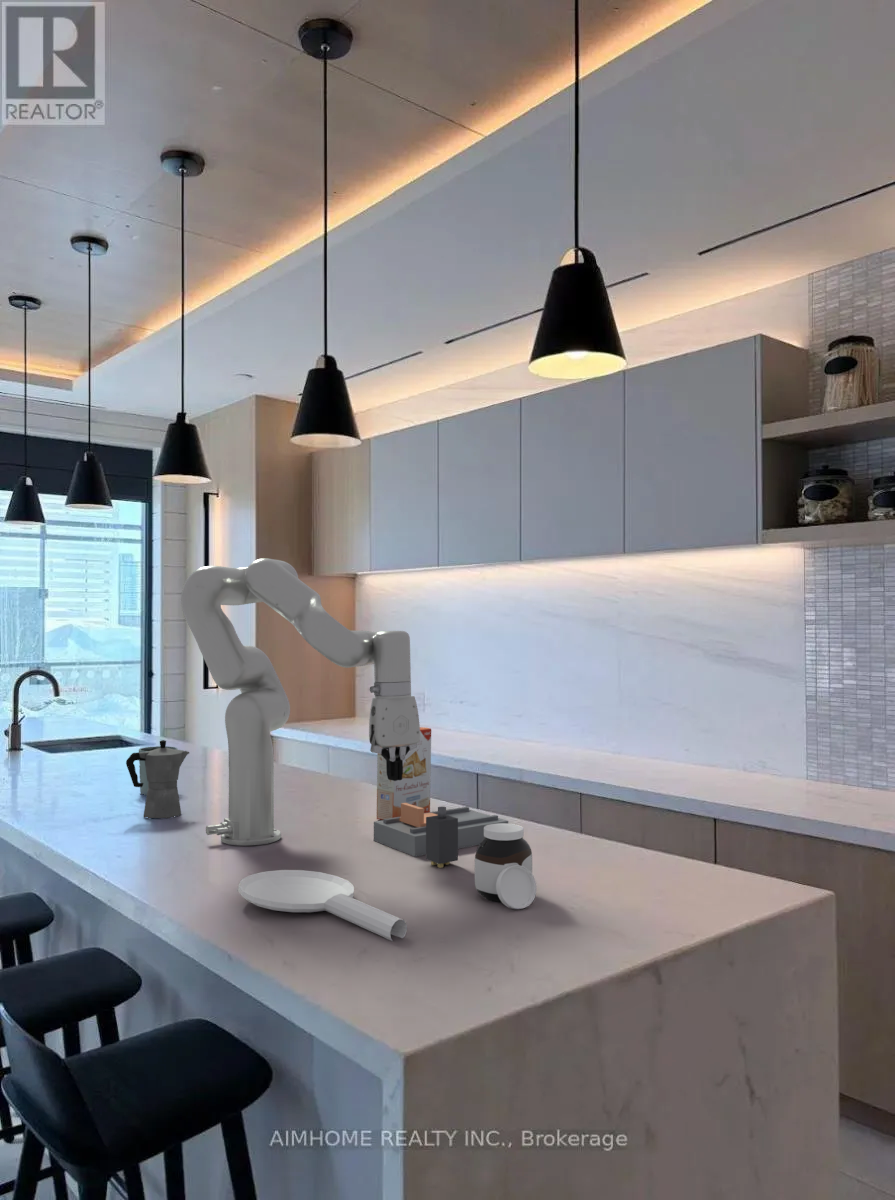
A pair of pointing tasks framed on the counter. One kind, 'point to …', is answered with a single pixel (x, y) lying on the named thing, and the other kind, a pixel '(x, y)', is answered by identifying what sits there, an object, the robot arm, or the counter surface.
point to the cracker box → (406, 780)
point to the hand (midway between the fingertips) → (394, 779)
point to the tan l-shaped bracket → (414, 815)
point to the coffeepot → (159, 780)
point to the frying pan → (317, 898)
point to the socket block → (415, 837)
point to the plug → (441, 838)
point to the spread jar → (505, 866)
